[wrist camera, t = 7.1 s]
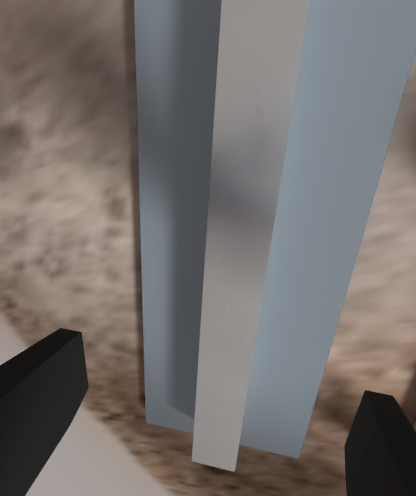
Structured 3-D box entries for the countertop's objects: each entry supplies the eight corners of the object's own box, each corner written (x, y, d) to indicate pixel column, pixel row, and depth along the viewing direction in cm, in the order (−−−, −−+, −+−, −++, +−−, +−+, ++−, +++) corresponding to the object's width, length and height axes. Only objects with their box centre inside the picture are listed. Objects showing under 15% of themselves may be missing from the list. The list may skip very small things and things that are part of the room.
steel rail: (240, 432, 18) (234, 471, 16) (201, 423, 19) (191, 461, 17) (308, -3, 10) (311, -16, 8) (235, -5, 10) (222, -19, 8)
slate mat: (298, 448, 19) (298, 459, 18) (149, 413, 20) (145, 423, 19) (435, -42, 9) (443, -49, 9) (140, -49, 11) (132, -55, 10)
